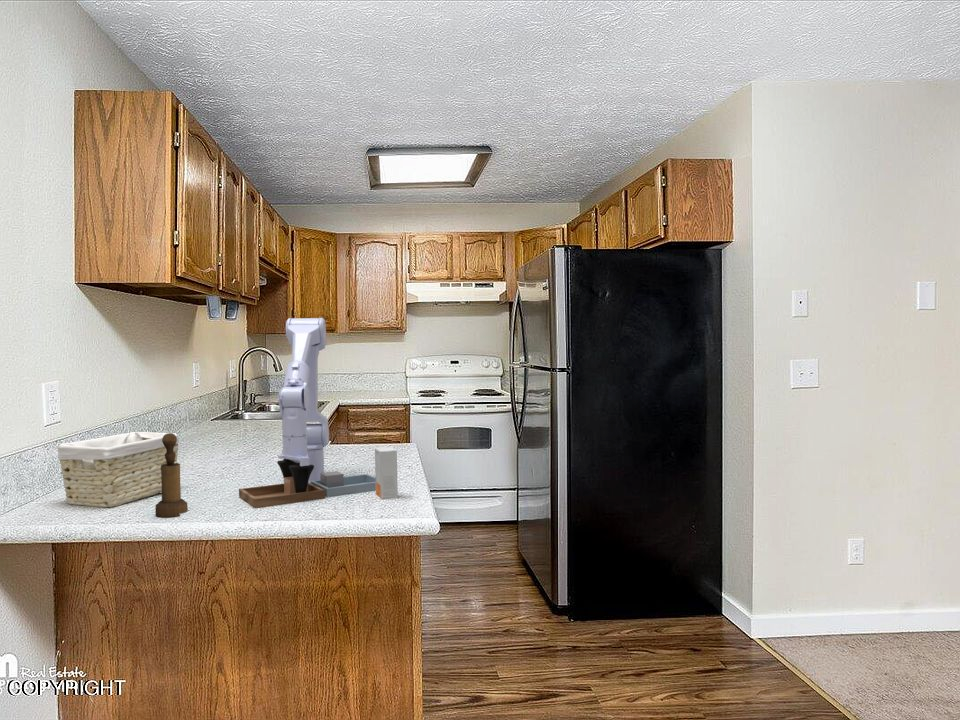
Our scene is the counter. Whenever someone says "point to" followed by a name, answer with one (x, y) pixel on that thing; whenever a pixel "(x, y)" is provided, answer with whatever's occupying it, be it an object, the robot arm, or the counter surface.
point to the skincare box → (386, 472)
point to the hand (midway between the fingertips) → (295, 491)
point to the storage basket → (113, 468)
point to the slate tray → (350, 485)
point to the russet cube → (289, 486)
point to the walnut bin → (278, 495)
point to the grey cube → (332, 479)
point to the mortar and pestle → (170, 483)
